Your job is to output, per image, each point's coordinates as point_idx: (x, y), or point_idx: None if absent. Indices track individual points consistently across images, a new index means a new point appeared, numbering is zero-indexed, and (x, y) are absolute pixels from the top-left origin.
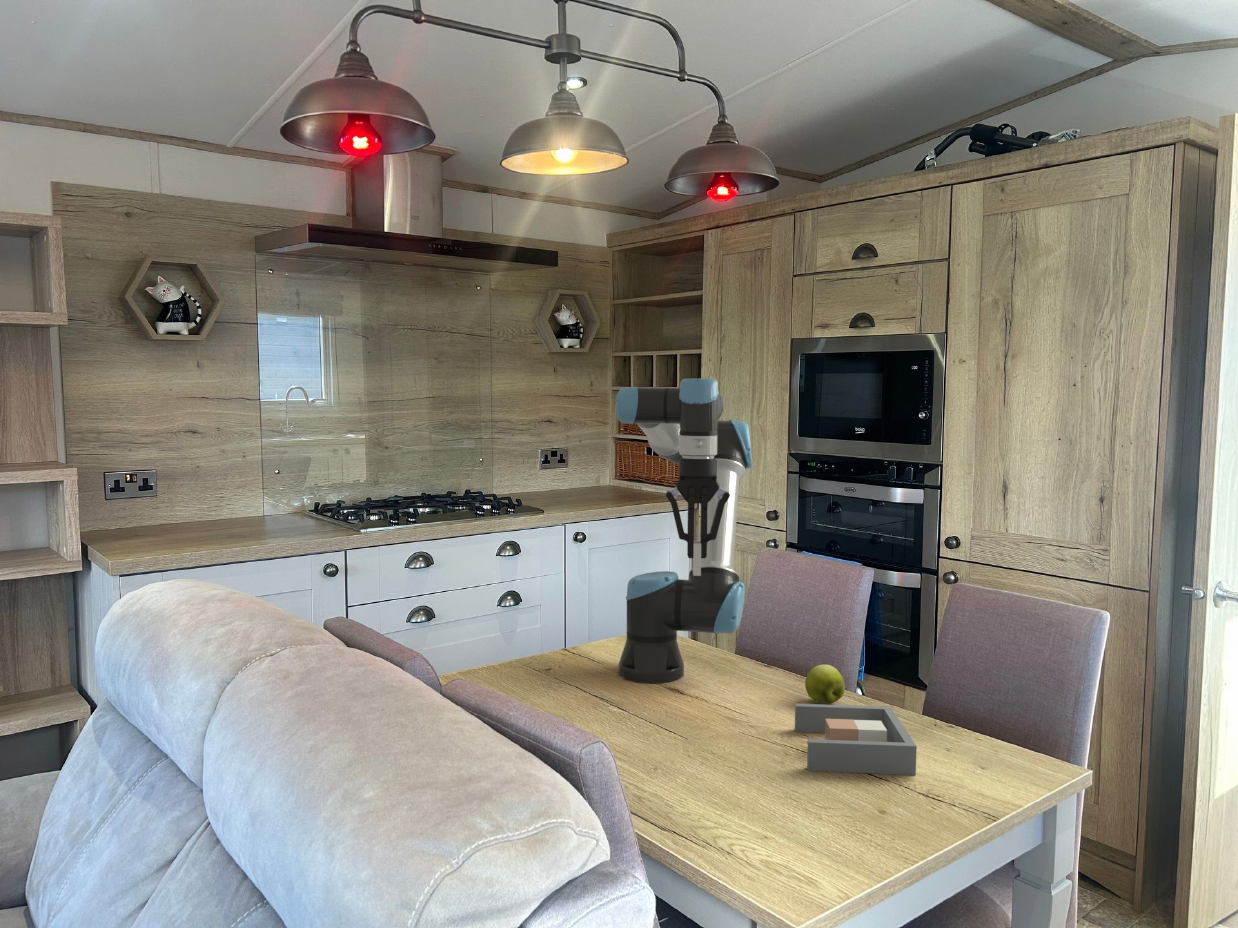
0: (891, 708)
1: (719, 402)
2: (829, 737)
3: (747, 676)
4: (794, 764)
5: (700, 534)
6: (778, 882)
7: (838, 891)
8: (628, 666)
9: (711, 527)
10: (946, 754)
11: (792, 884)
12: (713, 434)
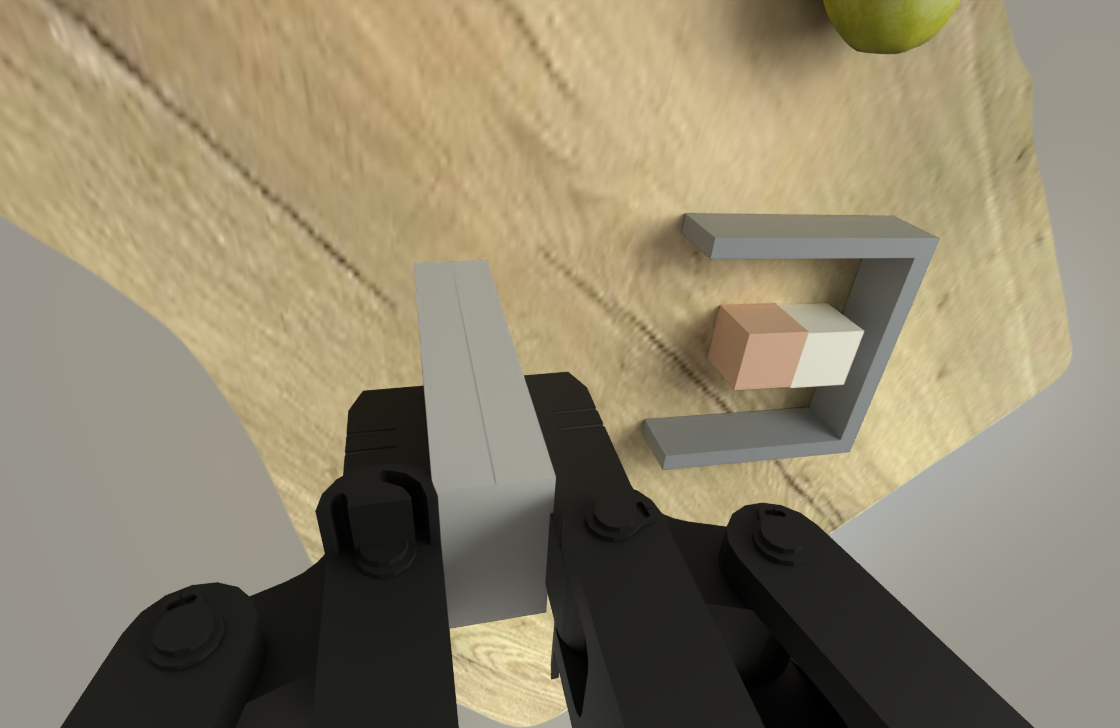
0: (934, 250)
1: None
2: (724, 378)
3: None
4: (624, 410)
5: (578, 589)
6: (522, 690)
7: None
8: None
9: (827, 692)
10: (924, 326)
11: (537, 689)
12: None
